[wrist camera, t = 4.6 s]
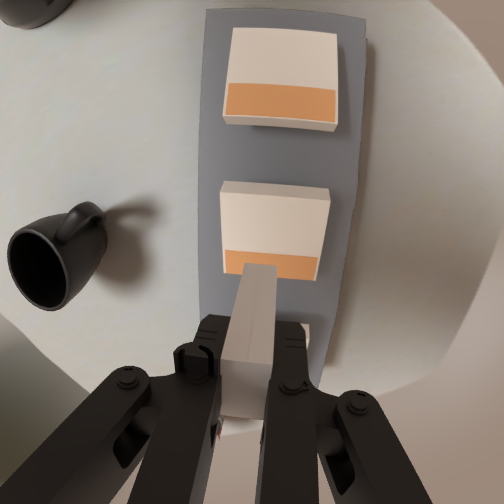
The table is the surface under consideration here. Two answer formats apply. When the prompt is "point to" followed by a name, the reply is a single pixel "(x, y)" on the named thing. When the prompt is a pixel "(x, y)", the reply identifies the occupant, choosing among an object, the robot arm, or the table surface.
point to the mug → (57, 255)
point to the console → (281, 168)
